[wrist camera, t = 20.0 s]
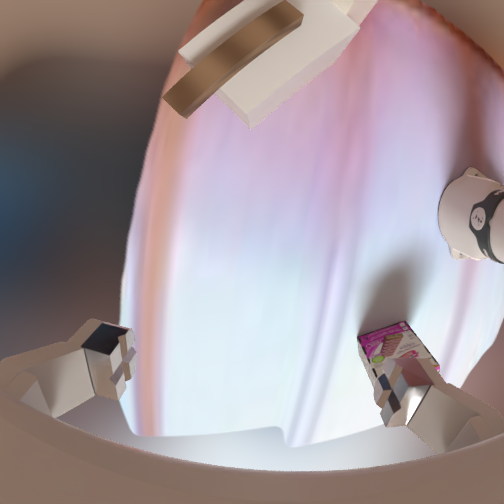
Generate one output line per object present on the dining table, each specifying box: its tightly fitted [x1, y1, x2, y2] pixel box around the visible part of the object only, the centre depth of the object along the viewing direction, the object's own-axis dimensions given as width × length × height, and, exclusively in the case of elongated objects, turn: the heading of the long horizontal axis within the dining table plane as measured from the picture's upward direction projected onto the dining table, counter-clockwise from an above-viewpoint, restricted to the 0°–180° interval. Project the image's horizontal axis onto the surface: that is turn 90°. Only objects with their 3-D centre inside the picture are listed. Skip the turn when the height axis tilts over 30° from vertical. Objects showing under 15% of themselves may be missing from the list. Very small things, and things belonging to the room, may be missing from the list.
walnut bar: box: [162, 0, 304, 119], centre depth 27 cm, size 18×3×3 cm, turn 133°
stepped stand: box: [178, 0, 378, 130], centre depth 27 cm, size 31×12×28 cm, turn 133°
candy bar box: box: [357, 321, 440, 387], centre depth 47 cm, size 11×5×16 cm, turn 107°
